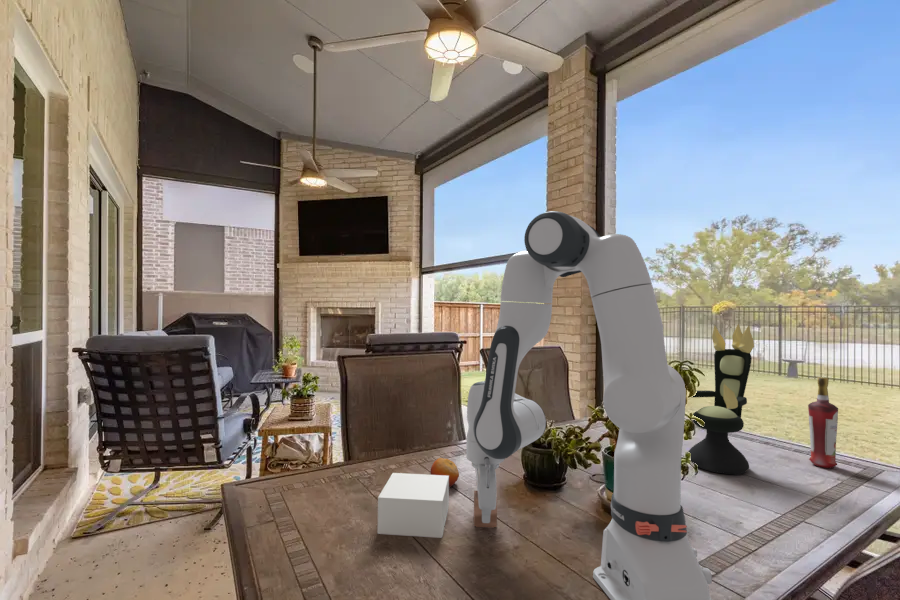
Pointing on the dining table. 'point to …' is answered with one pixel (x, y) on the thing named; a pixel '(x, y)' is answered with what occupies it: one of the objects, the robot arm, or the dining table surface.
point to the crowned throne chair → (725, 406)
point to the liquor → (823, 428)
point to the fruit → (445, 469)
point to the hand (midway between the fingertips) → (484, 511)
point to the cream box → (414, 505)
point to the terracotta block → (478, 514)
